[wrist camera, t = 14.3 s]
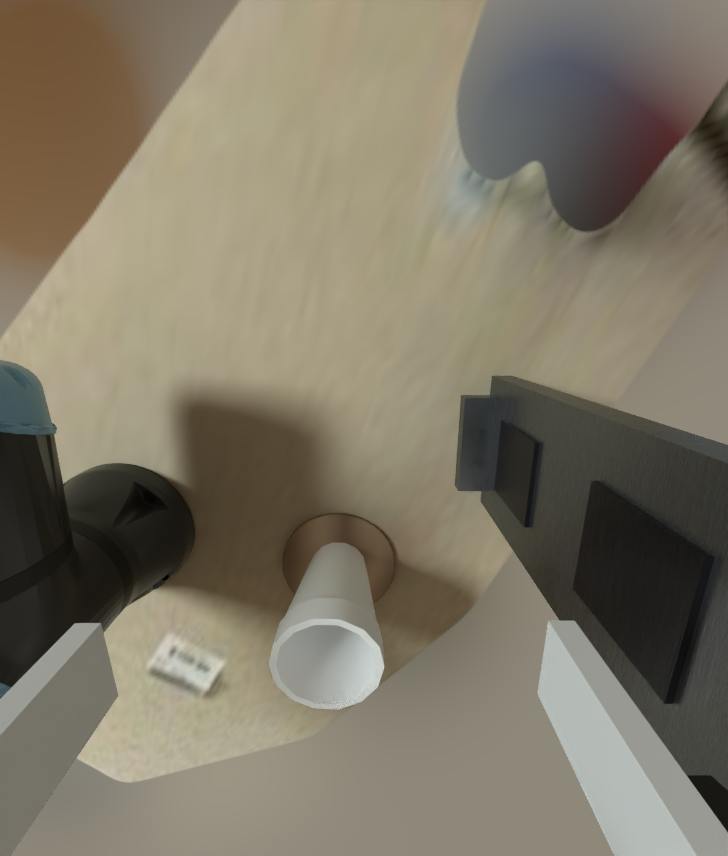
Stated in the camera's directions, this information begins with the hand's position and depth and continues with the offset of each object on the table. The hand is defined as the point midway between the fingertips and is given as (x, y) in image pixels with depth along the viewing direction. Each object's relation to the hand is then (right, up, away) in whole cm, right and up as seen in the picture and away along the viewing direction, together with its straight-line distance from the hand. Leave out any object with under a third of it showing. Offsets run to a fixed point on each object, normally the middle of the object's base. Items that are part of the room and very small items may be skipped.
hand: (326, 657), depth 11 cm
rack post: (+14, +5, +28) cm, 32 cm away
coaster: (-2, -9, +32) cm, 33 cm away
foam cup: (-2, -9, +32) cm, 33 cm away
